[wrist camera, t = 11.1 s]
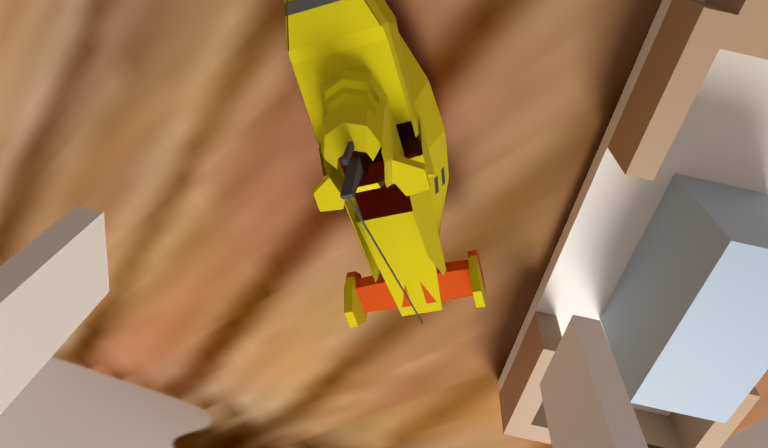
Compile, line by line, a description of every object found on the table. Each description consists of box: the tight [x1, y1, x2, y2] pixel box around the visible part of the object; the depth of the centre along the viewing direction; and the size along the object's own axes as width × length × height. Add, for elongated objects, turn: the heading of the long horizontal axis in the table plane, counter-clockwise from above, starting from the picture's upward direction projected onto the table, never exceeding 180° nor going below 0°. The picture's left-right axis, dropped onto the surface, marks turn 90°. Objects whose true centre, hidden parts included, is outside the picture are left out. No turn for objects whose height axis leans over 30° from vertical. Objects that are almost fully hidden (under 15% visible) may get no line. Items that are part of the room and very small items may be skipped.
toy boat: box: [285, 0, 486, 327], centre depth 23 cm, size 6×18×10 cm, turn 16°
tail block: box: [600, 173, 768, 424], centre depth 26 cm, size 9×4×6 cm, turn 169°
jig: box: [498, 0, 768, 448], centre depth 24 cm, size 37×11×4 cm, turn 169°
